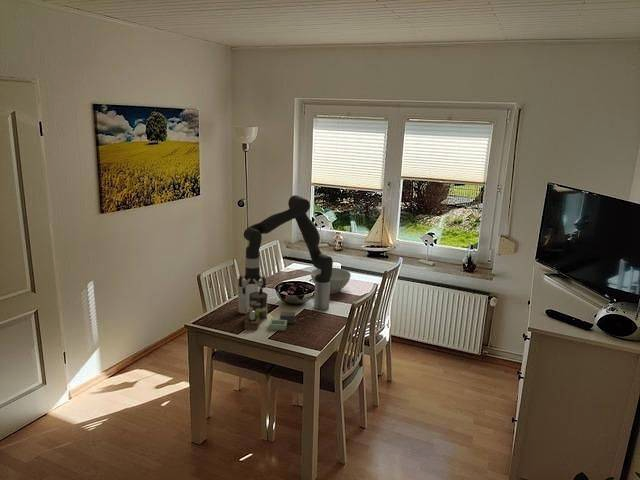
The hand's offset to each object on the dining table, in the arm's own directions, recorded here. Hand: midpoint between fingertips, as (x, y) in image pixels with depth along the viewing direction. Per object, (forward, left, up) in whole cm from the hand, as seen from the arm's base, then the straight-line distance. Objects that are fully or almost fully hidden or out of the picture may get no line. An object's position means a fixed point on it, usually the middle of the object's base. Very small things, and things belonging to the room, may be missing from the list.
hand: (252, 294), depth 248 cm
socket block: (0, 0, -19) cm, 19 cm away
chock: (-11, +18, -19) cm, 28 cm away
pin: (0, 0, -19) cm, 19 cm away
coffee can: (-12, +1, -19) cm, 23 cm away
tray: (-1, +14, -19) cm, 23 cm away
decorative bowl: (-63, +40, -19) cm, 77 cm away
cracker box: (-23, -7, -19) cm, 31 cm away
